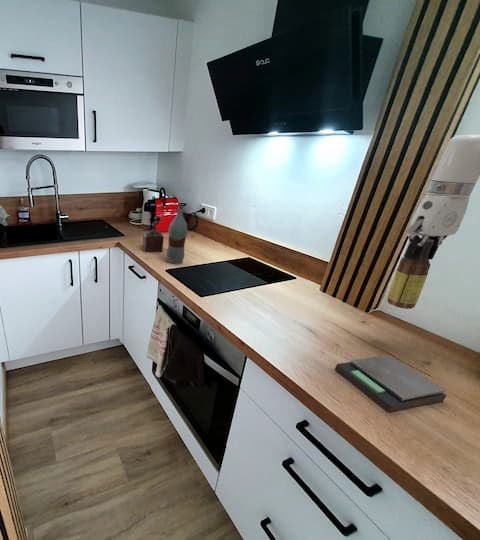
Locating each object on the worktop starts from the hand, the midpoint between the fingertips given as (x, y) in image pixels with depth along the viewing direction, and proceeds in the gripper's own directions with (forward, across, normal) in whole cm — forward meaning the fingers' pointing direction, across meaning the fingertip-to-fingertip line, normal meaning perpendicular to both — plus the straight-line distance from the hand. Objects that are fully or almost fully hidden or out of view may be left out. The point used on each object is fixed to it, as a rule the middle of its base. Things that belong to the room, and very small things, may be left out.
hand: (418, 257), depth 78 cm
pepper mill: (+28, -44, +99) cm, 112 cm away
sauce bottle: (+15, +1, 0) cm, 15 cm away
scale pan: (+27, -14, -14) cm, 33 cm away
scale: (+29, -15, -14) cm, 36 cm away
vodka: (+28, -39, +76) cm, 90 cm away
